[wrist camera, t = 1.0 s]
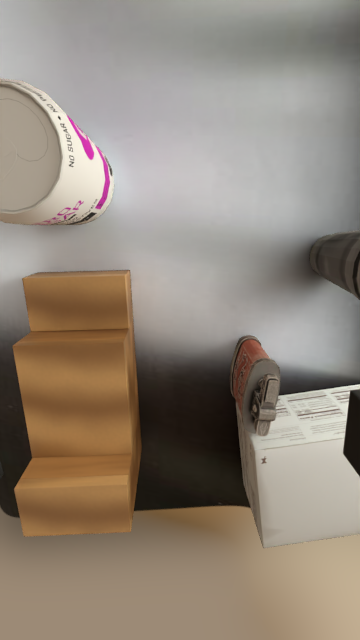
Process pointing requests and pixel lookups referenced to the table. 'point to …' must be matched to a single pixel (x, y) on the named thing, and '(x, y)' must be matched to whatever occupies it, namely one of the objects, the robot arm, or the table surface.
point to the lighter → (254, 385)
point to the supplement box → (302, 470)
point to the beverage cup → (339, 260)
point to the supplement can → (47, 162)
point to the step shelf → (79, 404)
